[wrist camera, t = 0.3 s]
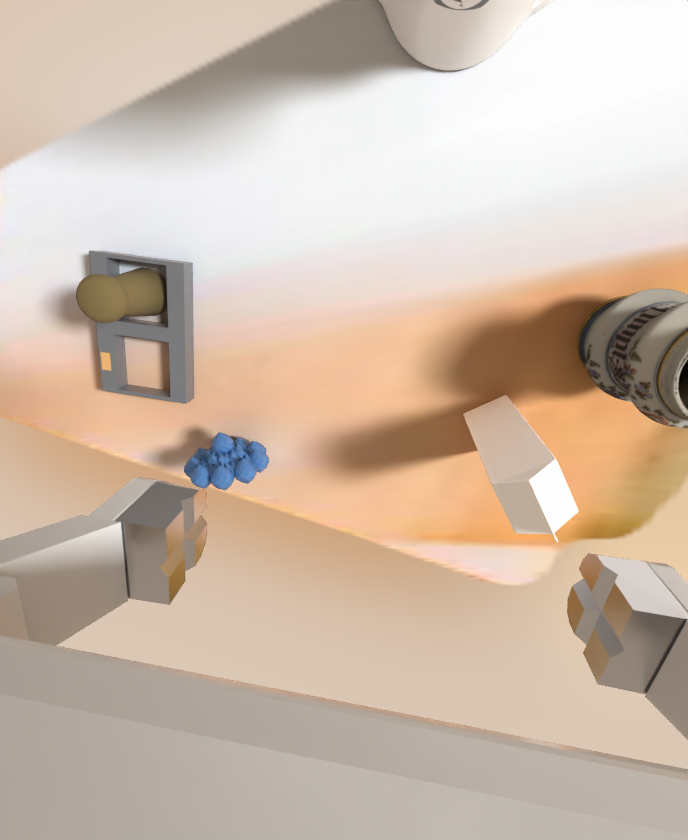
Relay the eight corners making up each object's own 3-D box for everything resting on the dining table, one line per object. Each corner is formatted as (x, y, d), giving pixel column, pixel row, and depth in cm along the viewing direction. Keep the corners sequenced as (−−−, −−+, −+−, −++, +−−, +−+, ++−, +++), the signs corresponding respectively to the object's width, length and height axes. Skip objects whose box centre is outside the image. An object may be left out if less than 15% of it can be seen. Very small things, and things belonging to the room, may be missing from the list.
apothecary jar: (701, 324, 50) (855, 359, 33) (620, 404, 54) (720, 472, 37) (622, 263, 48) (739, 267, 32) (545, 350, 53) (614, 395, 36)
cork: (126, 311, 57) (68, 323, 47) (125, 263, 55) (63, 265, 45) (170, 319, 57) (121, 333, 47) (170, 271, 55) (118, 275, 44)
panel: (101, 250, 55) (87, 250, 52) (192, 262, 54) (182, 263, 51) (112, 385, 61) (101, 390, 59) (194, 398, 60) (185, 404, 58)
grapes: (275, 412, 60) (247, 448, 49) (284, 456, 62) (259, 499, 51) (197, 419, 62) (153, 455, 51) (209, 461, 64) (169, 505, 53)
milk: (505, 393, 55) (571, 473, 35) (523, 432, 57) (595, 531, 36) (461, 413, 57) (498, 501, 36) (479, 451, 58) (525, 555, 38)
